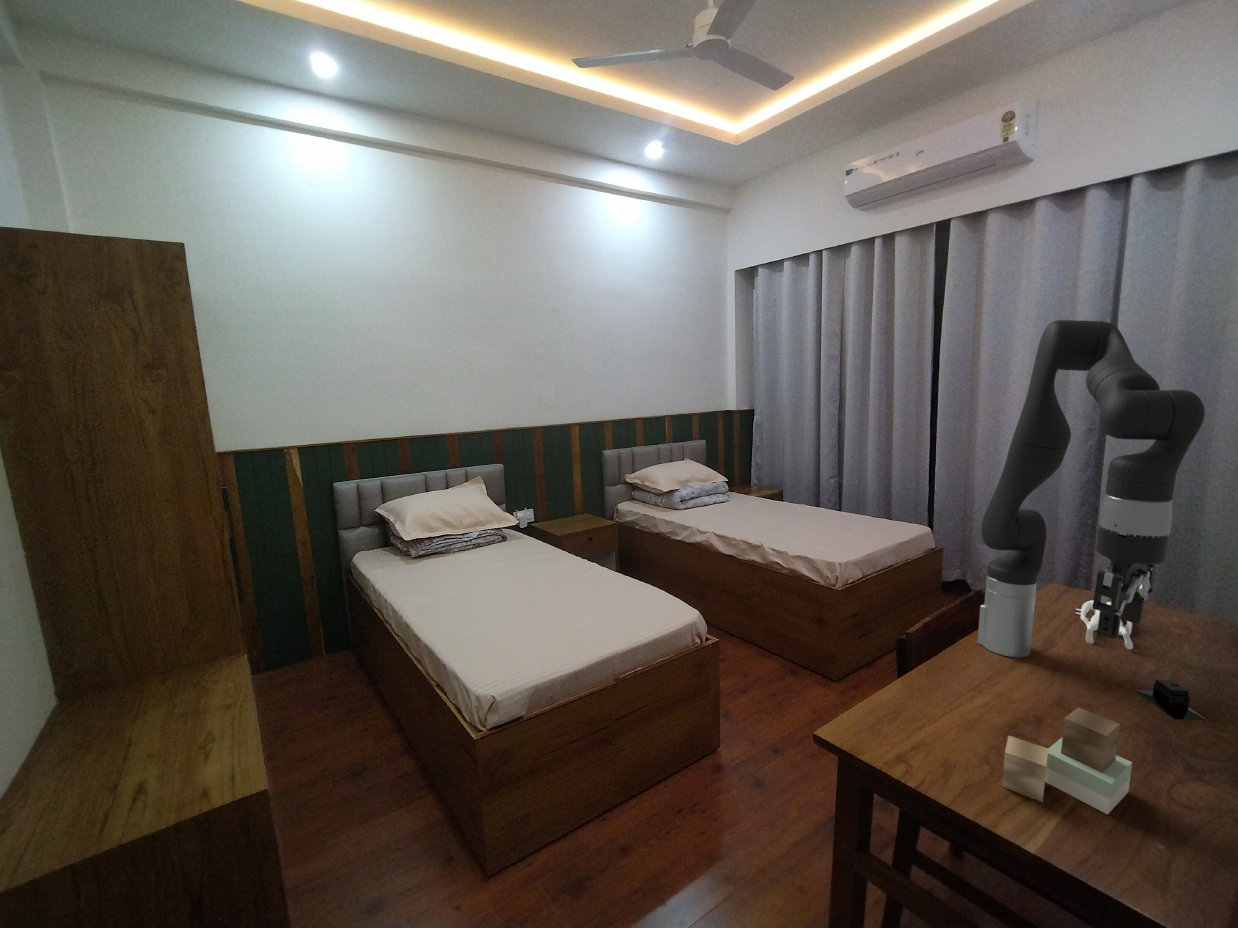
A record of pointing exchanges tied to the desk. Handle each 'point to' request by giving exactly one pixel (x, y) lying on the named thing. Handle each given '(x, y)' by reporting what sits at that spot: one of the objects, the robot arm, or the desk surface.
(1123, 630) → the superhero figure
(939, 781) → the desk surface
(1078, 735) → the walnut brick
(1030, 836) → the desk surface
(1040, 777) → the brick
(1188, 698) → the black angular block
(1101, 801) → the brick base
